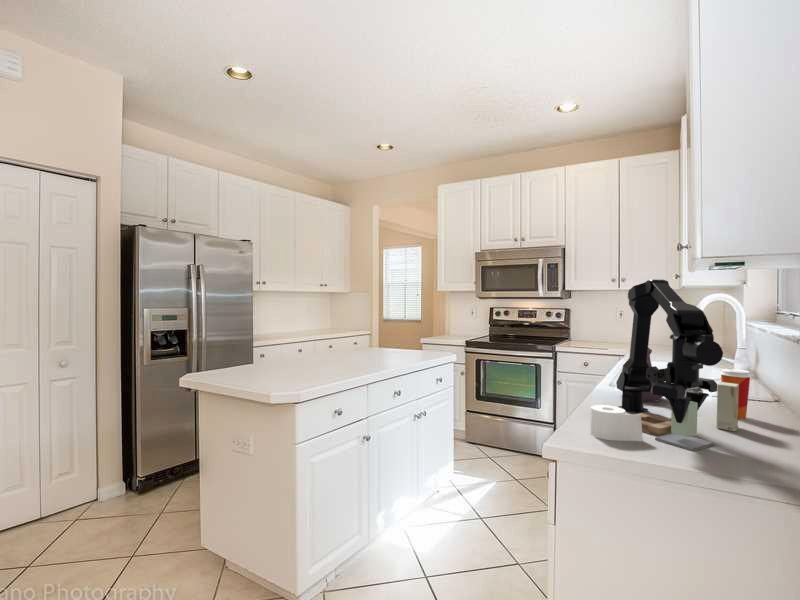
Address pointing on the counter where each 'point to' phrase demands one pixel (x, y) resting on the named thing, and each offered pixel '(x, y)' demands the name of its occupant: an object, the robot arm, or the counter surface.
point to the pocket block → (655, 424)
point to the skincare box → (727, 406)
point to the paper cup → (743, 381)
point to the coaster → (684, 441)
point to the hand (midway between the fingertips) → (684, 421)
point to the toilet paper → (615, 424)
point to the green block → (686, 422)
